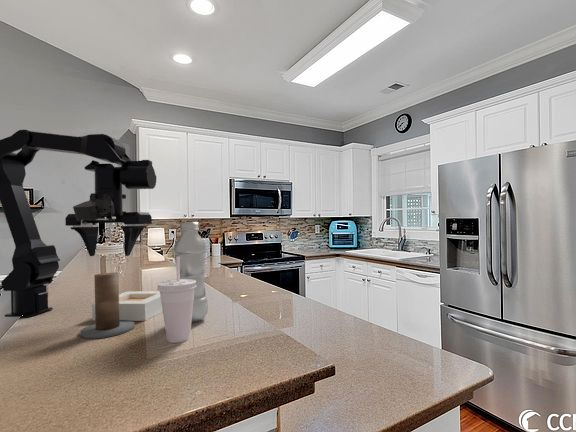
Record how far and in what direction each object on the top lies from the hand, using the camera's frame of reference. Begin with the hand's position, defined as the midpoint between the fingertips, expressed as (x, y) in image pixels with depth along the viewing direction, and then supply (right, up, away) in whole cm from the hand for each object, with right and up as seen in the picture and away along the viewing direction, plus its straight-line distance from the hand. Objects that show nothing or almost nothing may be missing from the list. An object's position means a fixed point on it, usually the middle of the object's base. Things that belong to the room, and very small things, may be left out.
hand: (109, 256), depth 77 cm
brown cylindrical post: (+8, -12, -15) cm, 21 cm away
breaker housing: (+7, -13, -3) cm, 15 cm away
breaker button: (+7, -11, -3) cm, 14 cm away
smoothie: (+23, -12, -21) cm, 33 cm away
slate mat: (+8, -12, -15) cm, 21 cm away
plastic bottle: (+23, -12, -11) cm, 28 cm away
